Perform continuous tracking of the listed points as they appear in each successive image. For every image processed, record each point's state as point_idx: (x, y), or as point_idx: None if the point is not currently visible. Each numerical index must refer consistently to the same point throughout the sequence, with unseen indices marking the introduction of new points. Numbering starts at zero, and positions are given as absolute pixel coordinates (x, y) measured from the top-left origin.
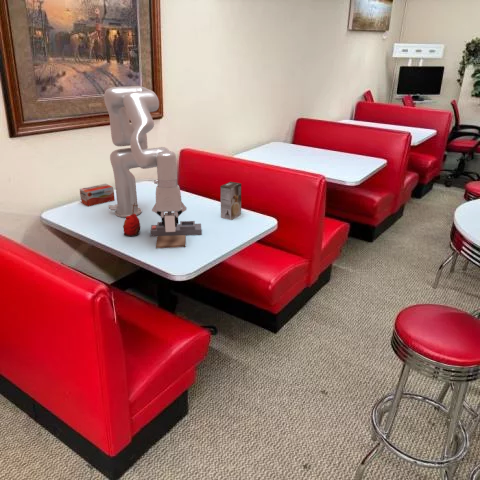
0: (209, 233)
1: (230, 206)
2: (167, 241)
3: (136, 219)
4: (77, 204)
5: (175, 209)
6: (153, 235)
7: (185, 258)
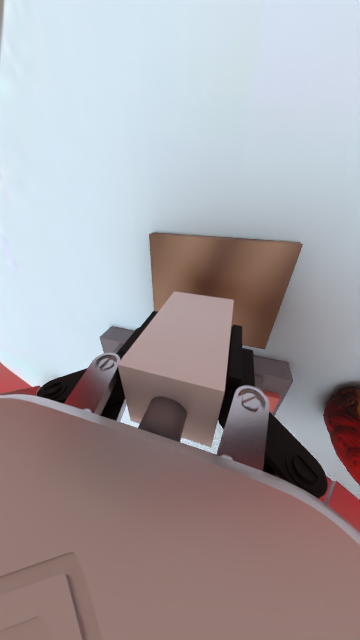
0: (92, 329)
1: None
2: (228, 288)
3: None
4: None
5: (17, 428)
6: (276, 363)
7: (143, 43)
